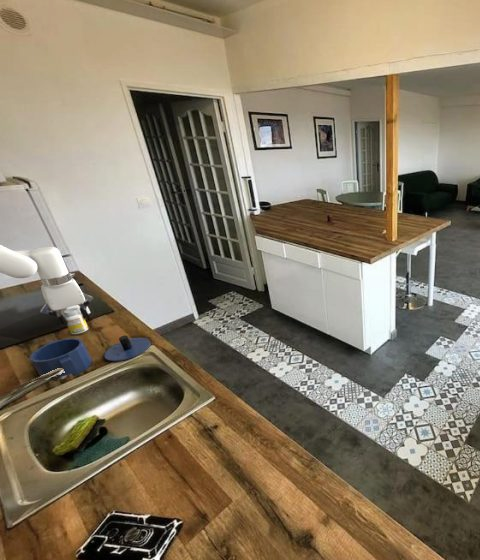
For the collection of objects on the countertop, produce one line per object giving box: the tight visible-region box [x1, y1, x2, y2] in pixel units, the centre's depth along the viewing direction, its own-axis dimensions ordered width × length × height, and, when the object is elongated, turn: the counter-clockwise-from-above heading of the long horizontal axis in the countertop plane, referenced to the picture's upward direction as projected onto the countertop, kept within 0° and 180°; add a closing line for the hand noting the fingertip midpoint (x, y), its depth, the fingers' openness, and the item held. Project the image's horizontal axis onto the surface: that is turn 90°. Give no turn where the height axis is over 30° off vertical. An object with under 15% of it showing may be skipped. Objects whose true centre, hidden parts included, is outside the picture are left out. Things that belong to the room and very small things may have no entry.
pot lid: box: [103, 335, 151, 362], centre depth 115 cm, size 14×14×6 cm
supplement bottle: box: [64, 308, 89, 335], centre depth 124 cm, size 5×5×10 cm
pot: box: [28, 337, 93, 379], centre depth 105 cm, size 13×18×8 cm
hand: (75, 320), depth 124 cm, fingers closed on supplement bottle, 5 cm apart
